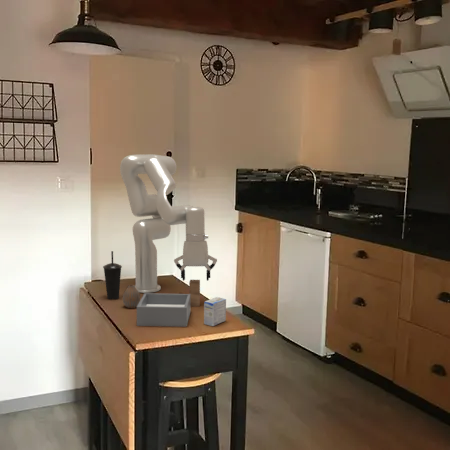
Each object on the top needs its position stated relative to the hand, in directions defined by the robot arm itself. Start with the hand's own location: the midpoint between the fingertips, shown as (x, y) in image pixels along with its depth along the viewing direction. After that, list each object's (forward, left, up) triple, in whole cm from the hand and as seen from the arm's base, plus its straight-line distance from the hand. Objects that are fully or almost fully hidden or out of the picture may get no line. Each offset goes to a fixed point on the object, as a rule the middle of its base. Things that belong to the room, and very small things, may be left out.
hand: (195, 279), depth 228 cm
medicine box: (+22, +9, -11) cm, 26 cm away
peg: (0, 0, -11) cm, 11 cm away
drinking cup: (-8, -35, -11) cm, 38 cm away
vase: (+4, -25, -11) cm, 28 cm away
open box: (+18, -10, -11) cm, 23 cm away
